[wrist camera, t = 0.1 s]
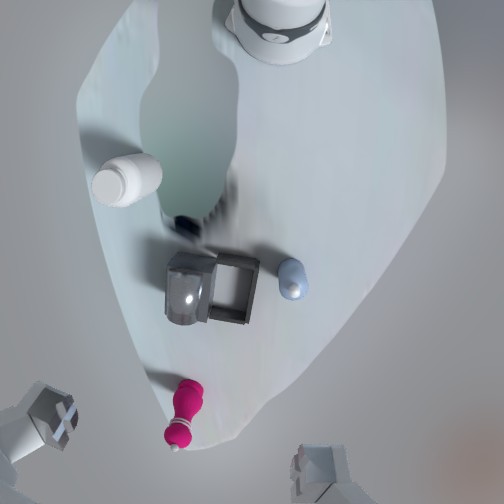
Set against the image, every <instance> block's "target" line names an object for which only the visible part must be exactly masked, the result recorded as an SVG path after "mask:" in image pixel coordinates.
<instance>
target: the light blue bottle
mask: <svg viewBox="0 0 504 504" xmlns="http://www.w3.org/2000/svg"><path fill="white" fill-rule="evenodd" d="M278 278H279V290H280V293H281V295H282V296H283V297H284V298H286V299H288V300H299V299H301V298H303V297H304V296H305V295H306V293H307V292H308V288H309V285H308V281H307V277H306V274H305V270H304V267H303V265H302V263H301V262H300V261H298V260H296V259H287V260H285V261H283V262H282V263H281V264H280V266H279V268H278Z"/></svg>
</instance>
